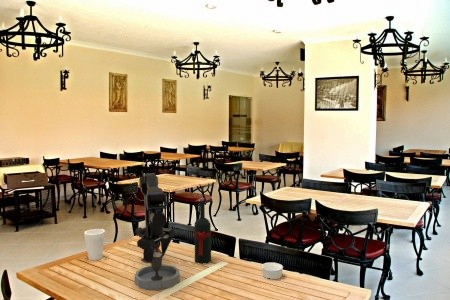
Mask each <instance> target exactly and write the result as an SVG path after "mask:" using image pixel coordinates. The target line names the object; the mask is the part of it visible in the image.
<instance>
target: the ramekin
mask: <svg viewBox="0 0 450 300" xmlns="http://www.w3.org/2000/svg"><path fill="white" fill-rule="evenodd" d="M261 269H262V277H263V278H265V277H266V278H265V279H267V278H270V279H269V280H272V279H274V280H278V279H277V278H279V279H281V278H282V275H283V269H284V266H283V265H282V264H281V263H277V262H265V263H263V264H262V265H261ZM280 277H281V278H280Z"/></svg>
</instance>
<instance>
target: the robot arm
mask: <svg viewBox="0 0 450 300" xmlns="http://www.w3.org/2000/svg"><path fill="white" fill-rule="evenodd" d="M138 184H139V185H138V186H139V188H140V192H141V193H142V195H143V197H144V218H145V219H144V220H145V221H144V222H145V223H144V224H145V225H144V227H142V226H140V227H137V228H135V235H136V237H138V238H140V239H138V240H137V241H136V246H137V248H139V249H141V250H142V254H143V258H141V259H140V260H141V262H146V263H151V262H152V259H153V254H154V250H155V248H156V247H157V246H158V244H159V246H158V247H159V248H160V247H161V249H160V250H161V252H162V253H163V254H164V255H165V254H166V252H167V250H168V248H169V246H170V244H171V242H172V240H173V239H174V238H173V237H175V235H176V234H175V230H174V229H171V228H165V226H166V224H167V222H168V221H167V216H166V215H165V212H164V210H166V209H167V208H168V206H169V205H168V199H167V198H168V197H167V195H166V193H165V192H164V190H163V188H160V187H159V176H157V175H156V173H154V172H151V173H144V175H143V176H141V177H139V181H138Z"/></svg>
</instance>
